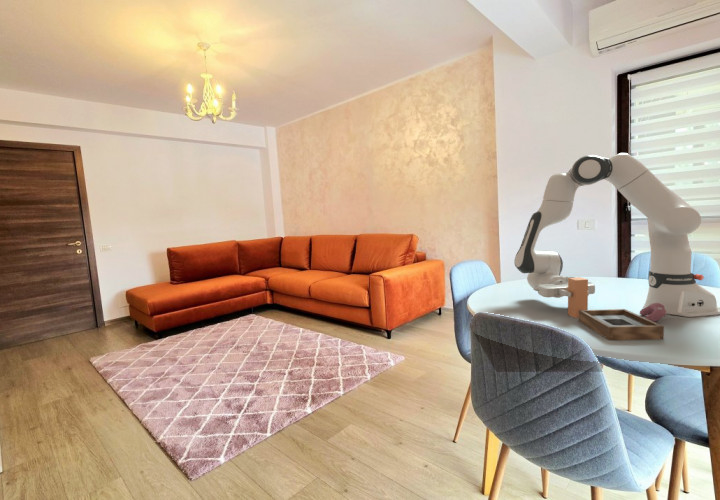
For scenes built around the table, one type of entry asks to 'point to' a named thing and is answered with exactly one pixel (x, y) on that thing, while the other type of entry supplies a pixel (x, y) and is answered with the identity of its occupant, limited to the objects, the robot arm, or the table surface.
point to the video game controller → (654, 312)
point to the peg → (577, 296)
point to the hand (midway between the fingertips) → (579, 294)
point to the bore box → (621, 325)
